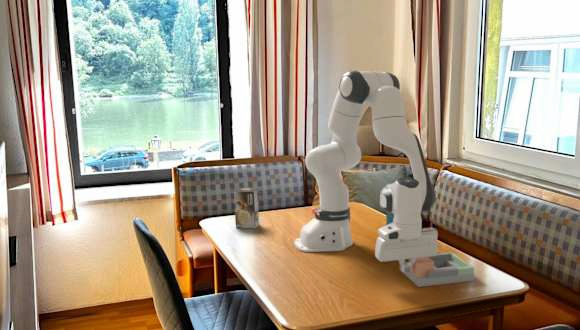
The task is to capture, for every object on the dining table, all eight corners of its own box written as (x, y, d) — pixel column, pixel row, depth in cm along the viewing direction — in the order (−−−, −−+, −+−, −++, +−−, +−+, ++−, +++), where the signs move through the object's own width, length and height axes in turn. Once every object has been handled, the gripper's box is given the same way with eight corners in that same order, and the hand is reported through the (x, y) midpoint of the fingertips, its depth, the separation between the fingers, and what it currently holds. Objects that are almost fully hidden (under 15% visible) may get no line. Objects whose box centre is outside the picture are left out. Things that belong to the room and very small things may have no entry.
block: (416, 277, 187) (416, 263, 186) (409, 271, 192) (409, 258, 191) (433, 275, 188) (434, 261, 188) (426, 269, 193) (427, 256, 192)
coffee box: (259, 224, 255) (258, 188, 252) (255, 228, 249) (254, 191, 246) (239, 223, 257) (238, 187, 254) (234, 227, 251) (233, 191, 248)
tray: (418, 286, 186) (418, 273, 185) (399, 269, 200) (399, 257, 199) (473, 280, 190) (474, 267, 189) (451, 264, 204) (451, 252, 203)
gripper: (433, 224, 191) (432, 264, 194) (373, 229, 187) (373, 270, 190) (442, 229, 185) (441, 271, 188) (380, 235, 181) (380, 278, 184)
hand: (406, 271), depth 189 cm, fingers closed
